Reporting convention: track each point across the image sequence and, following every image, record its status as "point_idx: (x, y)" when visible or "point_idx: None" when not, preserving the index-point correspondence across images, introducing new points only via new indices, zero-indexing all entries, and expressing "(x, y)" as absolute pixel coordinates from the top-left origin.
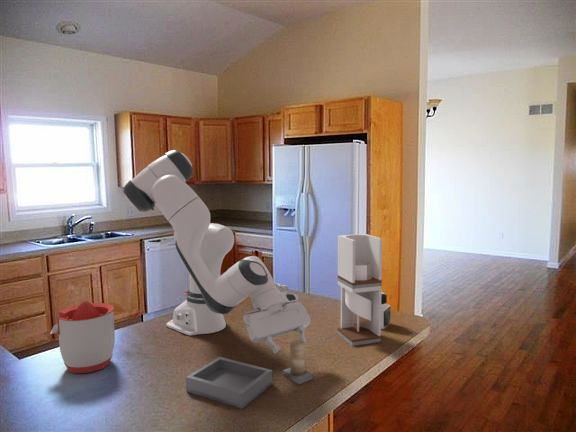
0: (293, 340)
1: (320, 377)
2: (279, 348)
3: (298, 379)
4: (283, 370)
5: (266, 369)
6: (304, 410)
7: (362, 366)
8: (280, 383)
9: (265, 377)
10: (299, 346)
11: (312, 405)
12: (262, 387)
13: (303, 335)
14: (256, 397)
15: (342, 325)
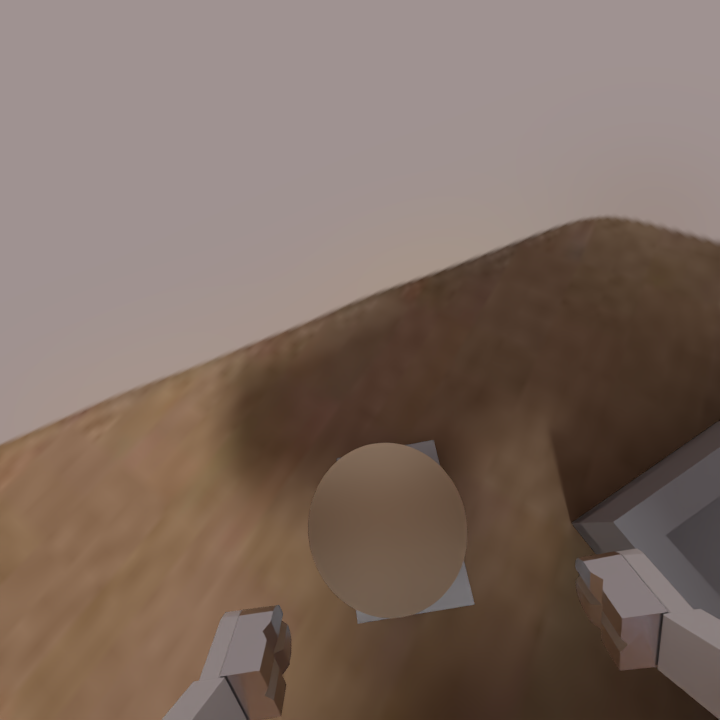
0: (392, 615)
1: (302, 453)
2: (601, 565)
3: (434, 446)
4: (472, 598)
5: (657, 558)
6: (504, 265)
7: (78, 445)
8: (521, 508)
9: (674, 473)
10: (402, 446)
11: (461, 280)
12: (669, 463)
13: (206, 685)
14: (697, 435)
15: None
